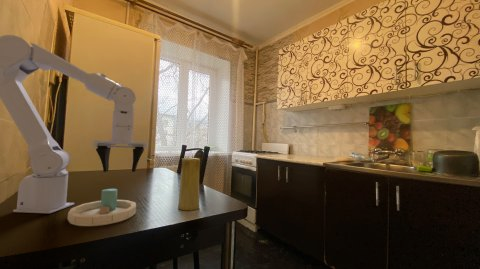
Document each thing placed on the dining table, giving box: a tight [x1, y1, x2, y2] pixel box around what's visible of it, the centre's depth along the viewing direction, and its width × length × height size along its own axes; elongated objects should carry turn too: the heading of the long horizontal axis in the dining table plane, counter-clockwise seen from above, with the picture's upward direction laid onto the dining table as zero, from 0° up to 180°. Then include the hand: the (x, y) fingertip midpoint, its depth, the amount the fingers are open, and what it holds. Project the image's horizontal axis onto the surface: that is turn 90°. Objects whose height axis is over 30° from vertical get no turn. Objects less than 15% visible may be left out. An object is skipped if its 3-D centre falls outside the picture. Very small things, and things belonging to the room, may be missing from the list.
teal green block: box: [100, 188, 118, 211], centre depth 56 cm, size 4×4×5 cm
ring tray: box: [67, 199, 137, 227], centre depth 53 cm, size 14×14×2 cm
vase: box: [177, 157, 201, 212], centre depth 62 cm, size 6×6×14 cm
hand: (120, 171), depth 64 cm, fingers open, 7 cm apart
